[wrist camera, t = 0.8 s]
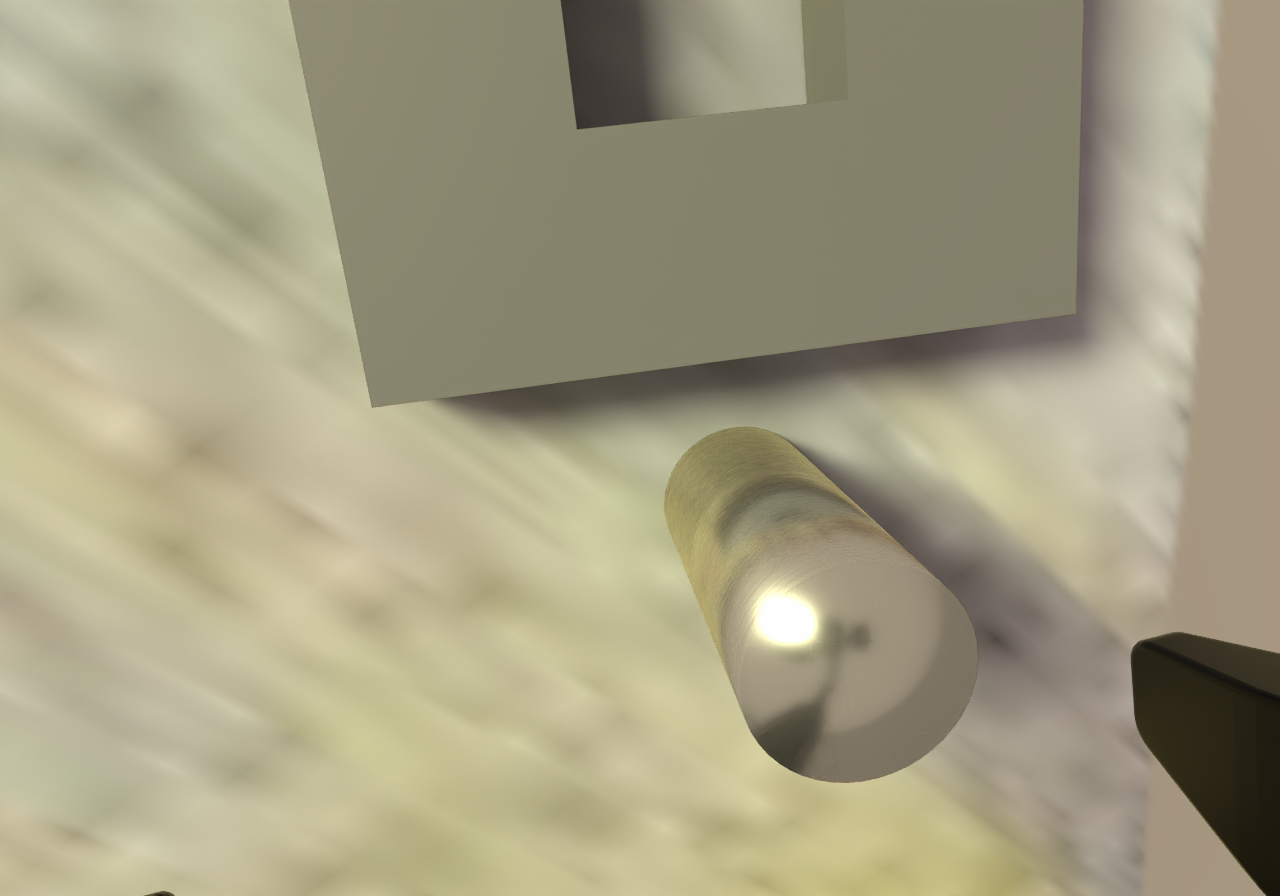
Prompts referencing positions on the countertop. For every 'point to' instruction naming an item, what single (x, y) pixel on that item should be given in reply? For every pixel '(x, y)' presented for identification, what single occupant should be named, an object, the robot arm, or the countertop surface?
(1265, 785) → the robot arm
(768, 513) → the peg
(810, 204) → the socket board
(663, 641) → the countertop surface
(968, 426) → the countertop surface
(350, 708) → the countertop surface
